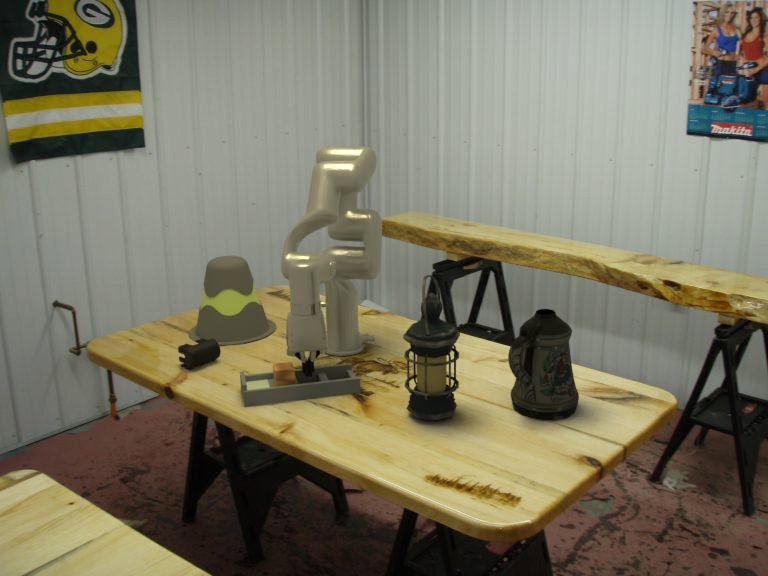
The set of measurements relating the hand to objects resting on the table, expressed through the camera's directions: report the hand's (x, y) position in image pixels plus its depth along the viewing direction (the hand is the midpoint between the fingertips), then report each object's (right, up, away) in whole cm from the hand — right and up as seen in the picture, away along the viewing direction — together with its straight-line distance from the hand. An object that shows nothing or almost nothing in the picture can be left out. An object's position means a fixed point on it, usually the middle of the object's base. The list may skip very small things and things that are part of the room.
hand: (308, 374), depth 205 cm
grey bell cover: (-29, +9, +48) cm, 57 cm away
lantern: (+32, -8, -14) cm, 35 cm away
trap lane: (-2, -4, +1) cm, 5 cm away
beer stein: (+59, -7, -12) cm, 61 cm away
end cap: (-33, 0, +21) cm, 39 cm away
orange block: (-6, -2, -1) cm, 7 cm away
